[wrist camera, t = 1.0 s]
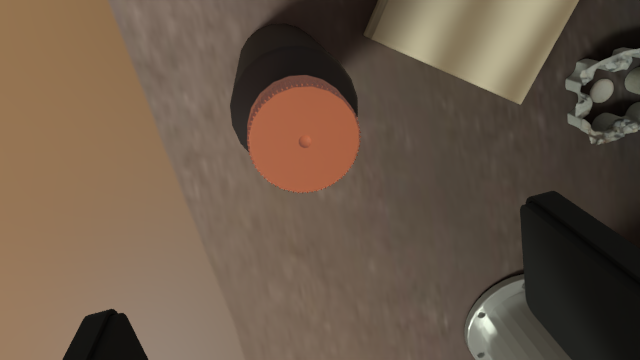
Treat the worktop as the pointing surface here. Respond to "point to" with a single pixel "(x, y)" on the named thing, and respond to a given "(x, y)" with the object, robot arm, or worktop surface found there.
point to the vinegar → (294, 109)
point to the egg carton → (605, 97)
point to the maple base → (475, 37)
